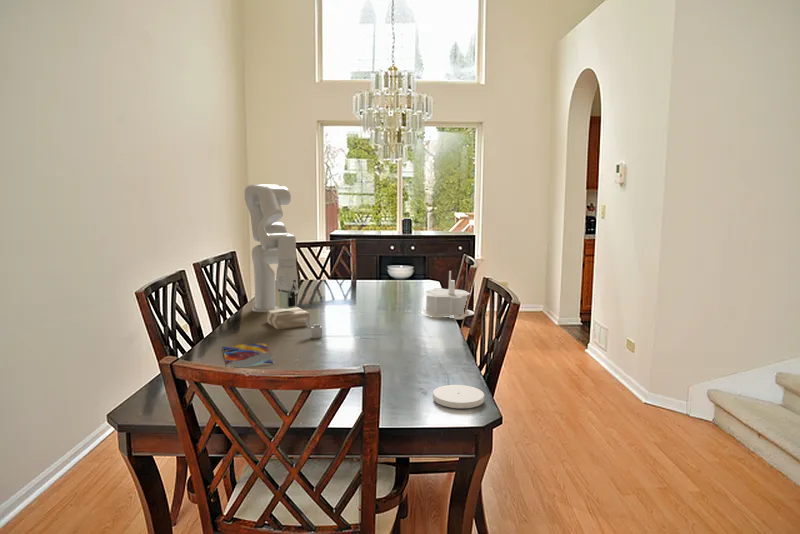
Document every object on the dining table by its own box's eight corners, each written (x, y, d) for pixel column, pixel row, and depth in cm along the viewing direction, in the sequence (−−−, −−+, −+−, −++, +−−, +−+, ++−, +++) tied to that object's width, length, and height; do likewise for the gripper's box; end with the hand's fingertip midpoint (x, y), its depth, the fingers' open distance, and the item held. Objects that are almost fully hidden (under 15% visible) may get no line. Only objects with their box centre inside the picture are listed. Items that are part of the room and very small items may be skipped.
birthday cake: (406, 309, 272) (407, 266, 269) (458, 306, 283) (459, 264, 280) (432, 323, 245) (433, 275, 242) (488, 319, 255) (490, 272, 252)
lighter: (321, 336, 219) (321, 317, 218) (322, 337, 217) (322, 318, 216) (303, 337, 217) (303, 317, 216) (303, 338, 216) (303, 318, 215)
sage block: (279, 307, 238) (279, 291, 237) (289, 305, 241) (289, 289, 240) (286, 309, 234) (286, 292, 233) (296, 307, 238) (295, 291, 237)
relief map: (275, 366, 184) (275, 360, 183) (227, 371, 178) (227, 365, 178) (265, 346, 207) (265, 341, 207) (222, 350, 202) (222, 344, 201)
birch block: (267, 323, 241) (266, 309, 241) (297, 320, 249) (297, 306, 248) (277, 330, 230) (277, 316, 229) (309, 326, 237) (309, 312, 236)
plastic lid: (439, 390, 162) (439, 382, 162) (487, 396, 158) (487, 387, 158) (427, 408, 149) (427, 399, 148) (479, 414, 145) (480, 405, 144)
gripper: (268, 262, 239) (269, 304, 241) (291, 266, 227) (292, 309, 229) (282, 261, 244) (283, 301, 246) (306, 264, 232) (307, 307, 235)
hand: (287, 305), depth 238 cm, fingers closed on sage block, 5 cm apart
